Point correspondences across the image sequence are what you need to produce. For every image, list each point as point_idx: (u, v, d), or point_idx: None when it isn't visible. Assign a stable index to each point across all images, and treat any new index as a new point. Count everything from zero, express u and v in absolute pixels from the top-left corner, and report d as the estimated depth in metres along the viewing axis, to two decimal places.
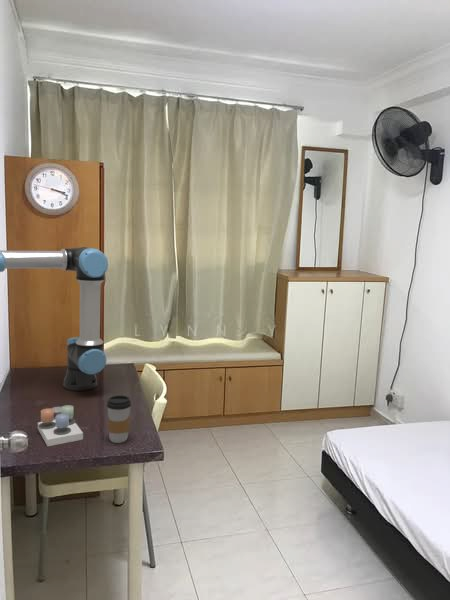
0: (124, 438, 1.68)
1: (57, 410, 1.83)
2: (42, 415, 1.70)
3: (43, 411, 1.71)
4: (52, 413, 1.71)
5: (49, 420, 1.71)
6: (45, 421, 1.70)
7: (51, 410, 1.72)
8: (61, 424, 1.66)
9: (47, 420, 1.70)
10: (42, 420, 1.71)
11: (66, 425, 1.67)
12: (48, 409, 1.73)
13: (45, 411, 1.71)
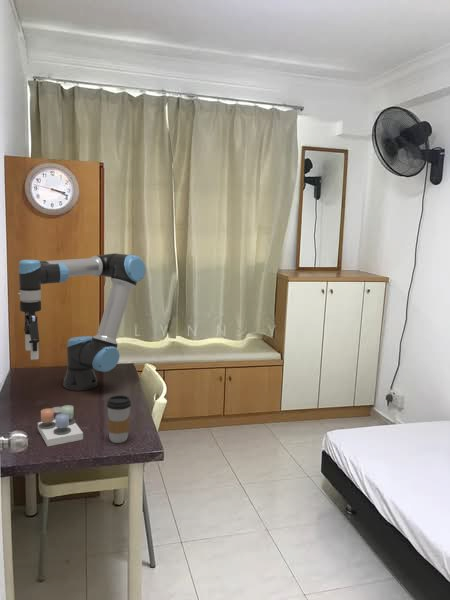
0: (124, 438, 1.68)
1: (57, 410, 1.83)
2: (42, 415, 1.70)
3: (43, 411, 1.71)
4: (52, 413, 1.71)
5: (49, 420, 1.71)
6: (45, 421, 1.70)
7: (51, 410, 1.72)
8: (61, 424, 1.66)
9: (47, 420, 1.70)
10: (42, 420, 1.71)
11: (66, 425, 1.67)
12: (48, 409, 1.73)
13: (45, 411, 1.71)
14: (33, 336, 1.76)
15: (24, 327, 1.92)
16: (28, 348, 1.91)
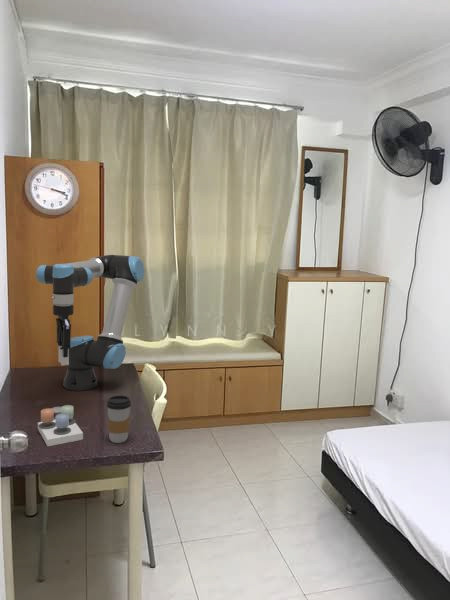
0: (124, 438, 1.68)
1: (57, 410, 1.83)
2: (42, 415, 1.70)
3: (43, 411, 1.71)
4: (52, 413, 1.71)
5: (49, 420, 1.71)
6: (45, 421, 1.70)
7: (51, 410, 1.72)
8: (61, 424, 1.66)
9: (47, 420, 1.70)
10: (42, 420, 1.71)
11: (66, 425, 1.67)
12: (48, 409, 1.73)
13: (45, 411, 1.71)
14: (65, 343, 1.81)
15: (57, 339, 1.90)
16: None
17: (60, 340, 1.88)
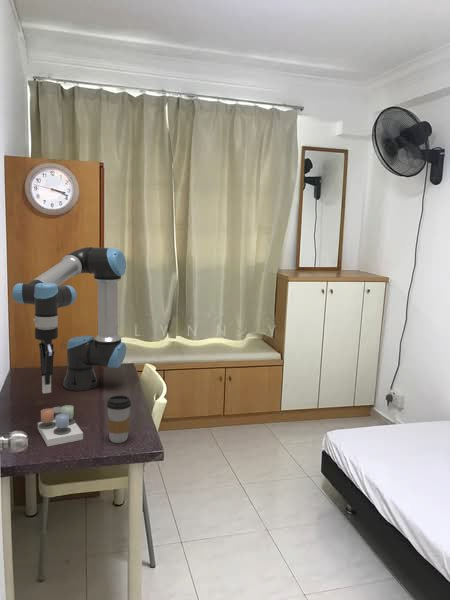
0: (124, 438, 1.68)
1: (57, 410, 1.83)
2: (42, 415, 1.70)
3: (43, 411, 1.71)
4: (52, 413, 1.71)
5: (49, 420, 1.71)
6: (45, 421, 1.70)
7: (51, 410, 1.72)
8: (61, 424, 1.66)
9: (47, 420, 1.70)
10: (42, 420, 1.71)
11: (66, 425, 1.67)
12: (48, 409, 1.73)
13: (45, 411, 1.71)
14: (47, 370, 1.66)
15: None
16: None
17: None
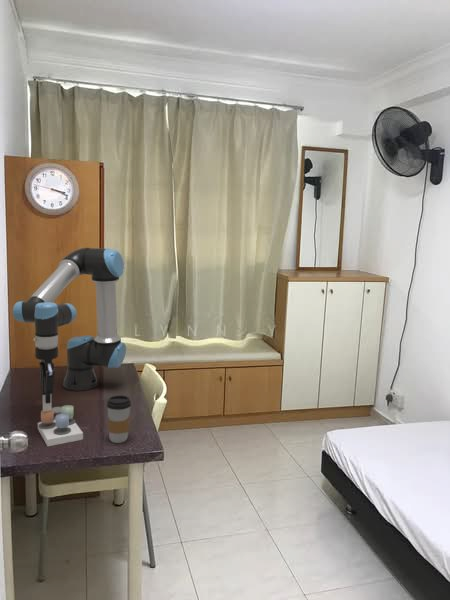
0: (124, 438, 1.68)
1: (57, 410, 1.83)
2: (42, 416, 1.70)
3: (43, 412, 1.71)
4: (52, 414, 1.71)
5: (49, 421, 1.71)
6: (45, 422, 1.70)
7: (51, 411, 1.72)
8: (61, 424, 1.66)
9: (47, 421, 1.70)
10: (42, 421, 1.71)
11: (66, 425, 1.67)
12: None
13: (45, 412, 1.71)
14: (47, 390, 1.67)
15: (41, 385, 1.73)
16: None
17: None
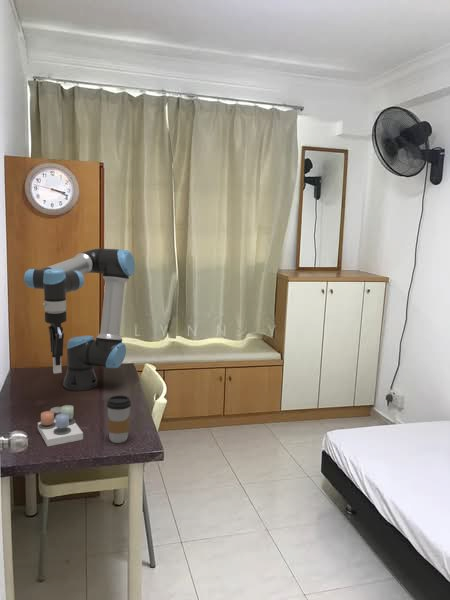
0: (124, 438, 1.68)
1: (57, 410, 1.83)
2: (42, 418, 1.70)
3: (43, 414, 1.71)
4: (52, 416, 1.72)
5: (49, 423, 1.71)
6: (45, 424, 1.70)
7: (51, 413, 1.72)
8: (61, 424, 1.66)
9: (47, 423, 1.71)
10: (42, 423, 1.71)
11: (66, 425, 1.67)
12: (48, 412, 1.73)
13: (45, 414, 1.71)
14: (57, 352, 1.75)
15: None
16: None
17: (54, 349, 1.79)
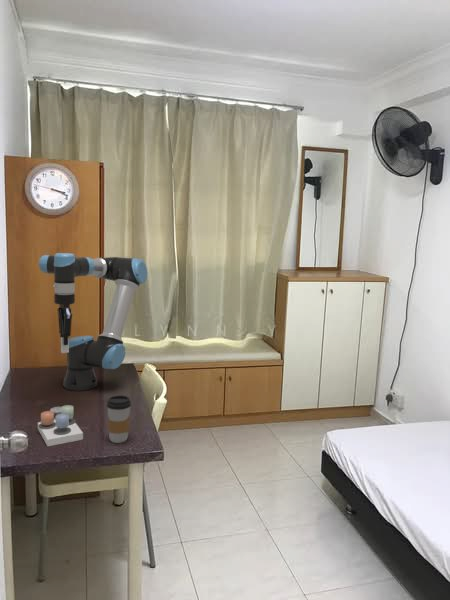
0: (124, 438, 1.68)
1: (57, 410, 1.83)
2: (42, 418, 1.70)
3: (43, 414, 1.71)
4: (52, 416, 1.72)
5: (49, 423, 1.71)
6: (45, 424, 1.70)
7: (51, 413, 1.72)
8: (61, 424, 1.66)
9: (47, 423, 1.71)
10: (42, 423, 1.71)
11: (66, 425, 1.67)
12: (48, 412, 1.73)
13: (45, 414, 1.71)
14: (65, 332, 1.84)
15: (59, 329, 1.90)
16: None
17: None
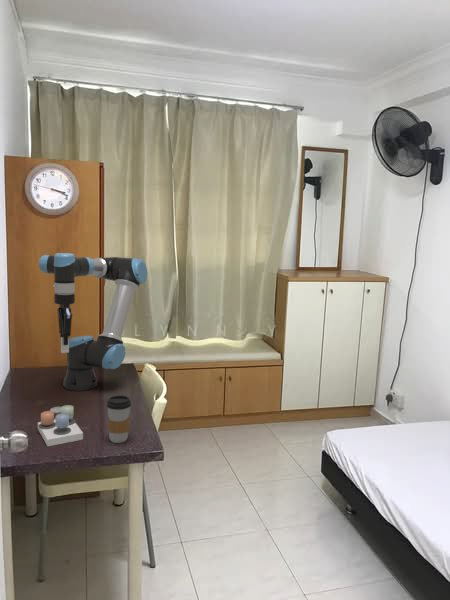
0: (124, 438, 1.68)
1: (57, 410, 1.83)
2: (42, 418, 1.70)
3: (43, 414, 1.71)
4: (52, 416, 1.72)
5: (49, 423, 1.71)
6: (45, 424, 1.70)
7: (51, 413, 1.72)
8: (61, 424, 1.66)
9: (47, 423, 1.71)
10: (42, 423, 1.71)
11: (66, 425, 1.67)
12: (48, 412, 1.73)
13: (45, 414, 1.71)
14: (65, 332, 1.84)
15: (59, 329, 1.90)
16: None
17: None
